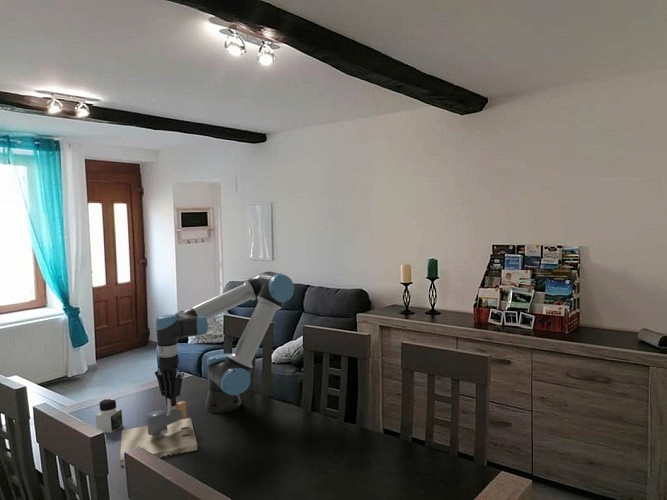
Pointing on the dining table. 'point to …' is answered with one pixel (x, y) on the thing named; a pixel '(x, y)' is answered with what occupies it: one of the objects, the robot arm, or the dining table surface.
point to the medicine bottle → (109, 416)
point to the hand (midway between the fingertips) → (171, 413)
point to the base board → (160, 439)
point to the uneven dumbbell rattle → (165, 419)
